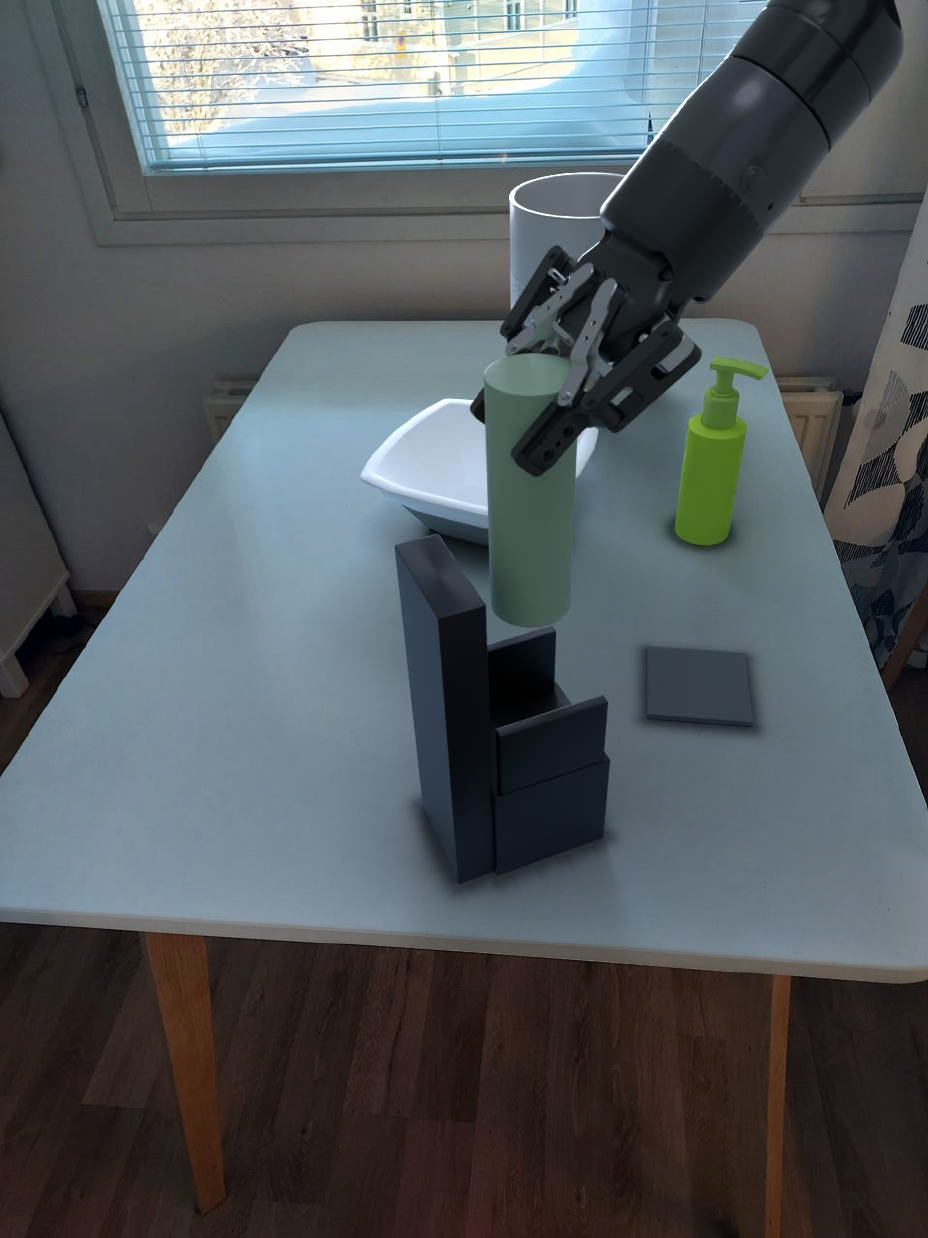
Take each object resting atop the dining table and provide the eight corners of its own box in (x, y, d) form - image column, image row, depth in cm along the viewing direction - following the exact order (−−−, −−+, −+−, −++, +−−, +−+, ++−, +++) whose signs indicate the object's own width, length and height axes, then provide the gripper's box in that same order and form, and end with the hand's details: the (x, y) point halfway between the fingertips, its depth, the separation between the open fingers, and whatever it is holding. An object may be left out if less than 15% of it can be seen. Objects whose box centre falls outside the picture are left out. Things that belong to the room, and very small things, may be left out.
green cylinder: (568, 631, 58) (577, 396, 48) (485, 625, 59) (477, 393, 49) (572, 580, 62) (582, 353, 52) (495, 576, 63) (490, 351, 53)
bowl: (536, 595, 96) (537, 527, 90) (349, 543, 104) (340, 478, 99) (611, 489, 110) (616, 426, 105) (442, 451, 119) (438, 390, 114)
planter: (503, 365, 138) (500, 177, 121) (628, 355, 139) (642, 167, 122) (521, 426, 123) (521, 223, 107) (661, 414, 124) (682, 210, 108)
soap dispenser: (727, 554, 100) (757, 381, 87) (666, 536, 103) (687, 366, 90) (745, 526, 104) (776, 357, 91) (686, 510, 106) (708, 343, 94)
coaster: (752, 726, 81) (753, 722, 80) (647, 718, 82) (647, 714, 81) (744, 657, 87) (744, 652, 87) (646, 650, 89) (647, 646, 88)
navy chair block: (553, 756, 79) (561, 497, 62) (603, 837, 72) (627, 570, 56) (420, 801, 76) (391, 540, 59) (460, 889, 69) (440, 624, 53)
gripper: (834, 273, 45) (600, 537, 49) (676, 196, 55) (495, 421, 60) (759, 170, 40) (507, 473, 45) (602, 108, 50) (411, 359, 55)
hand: (501, 442), depth 52 cm, fingers closed on green cylinder, 5 cm apart
